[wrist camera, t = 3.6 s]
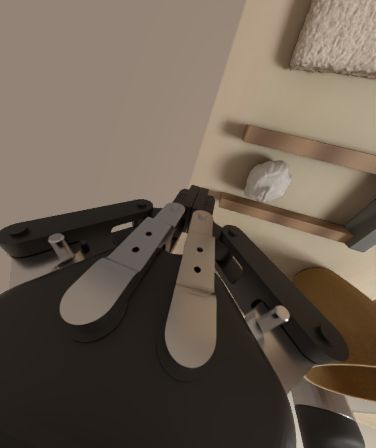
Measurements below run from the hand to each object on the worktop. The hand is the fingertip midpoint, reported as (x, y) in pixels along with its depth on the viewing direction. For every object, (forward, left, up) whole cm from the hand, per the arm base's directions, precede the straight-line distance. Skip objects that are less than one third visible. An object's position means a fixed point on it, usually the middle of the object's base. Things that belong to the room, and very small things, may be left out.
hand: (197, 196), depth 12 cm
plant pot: (-28, +17, -12) cm, 35 cm away
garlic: (-8, 0, -12) cm, 15 cm away
